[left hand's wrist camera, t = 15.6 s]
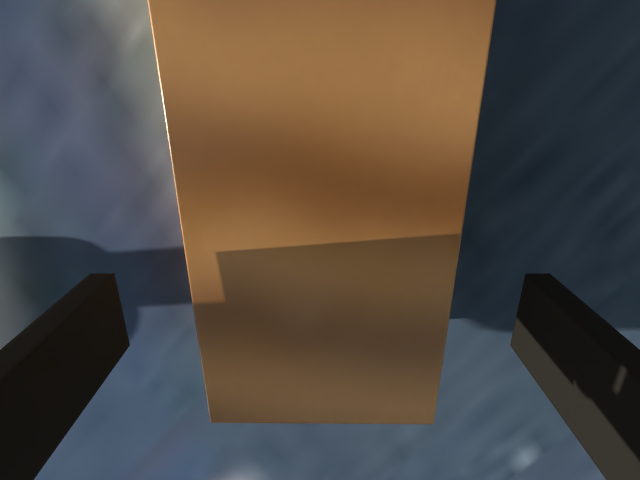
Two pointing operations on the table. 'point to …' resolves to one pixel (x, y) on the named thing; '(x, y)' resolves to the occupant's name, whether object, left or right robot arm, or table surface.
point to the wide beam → (322, 196)
